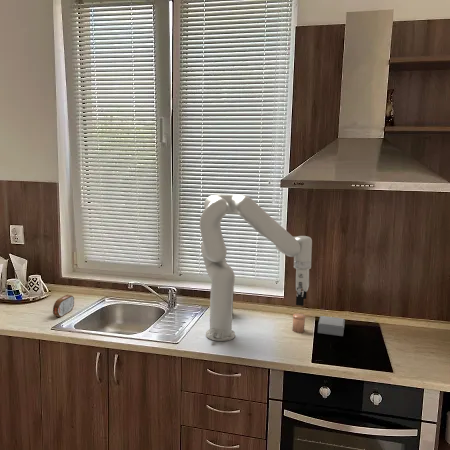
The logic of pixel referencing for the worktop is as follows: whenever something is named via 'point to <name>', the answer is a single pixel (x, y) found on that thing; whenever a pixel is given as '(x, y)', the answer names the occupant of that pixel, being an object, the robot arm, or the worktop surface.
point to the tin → (63, 305)
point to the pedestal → (331, 325)
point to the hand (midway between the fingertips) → (301, 301)
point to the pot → (298, 322)
